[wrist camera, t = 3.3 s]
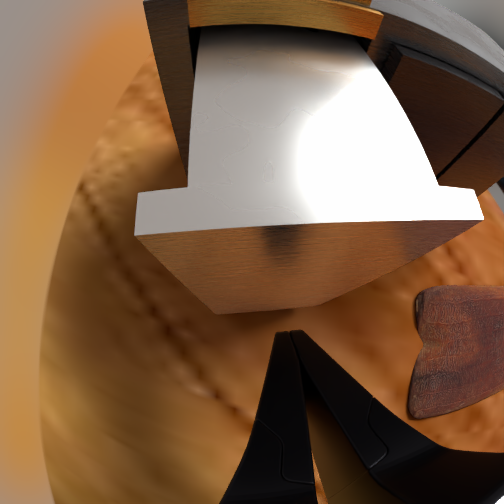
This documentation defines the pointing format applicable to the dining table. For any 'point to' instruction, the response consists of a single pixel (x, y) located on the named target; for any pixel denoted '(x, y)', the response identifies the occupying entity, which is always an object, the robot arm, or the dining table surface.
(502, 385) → the wooden tablet
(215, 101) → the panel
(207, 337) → the dining table surface
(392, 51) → the small drawer cabinet
